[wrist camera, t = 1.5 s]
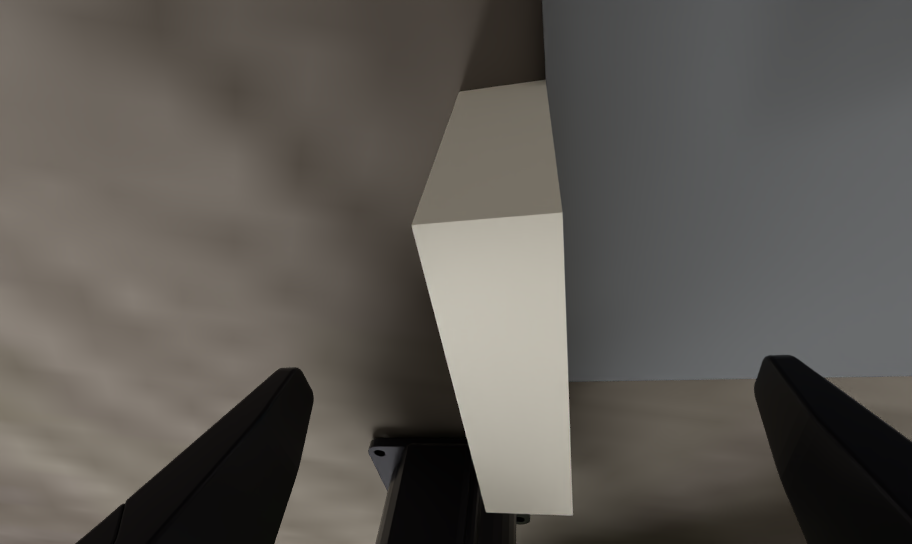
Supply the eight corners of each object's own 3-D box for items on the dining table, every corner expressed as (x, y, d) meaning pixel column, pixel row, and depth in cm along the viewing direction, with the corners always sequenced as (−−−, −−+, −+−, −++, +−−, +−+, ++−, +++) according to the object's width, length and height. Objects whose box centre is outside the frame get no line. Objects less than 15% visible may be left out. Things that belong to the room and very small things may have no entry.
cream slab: (557, 330, 15) (572, 515, 11) (494, 332, 16) (482, 512, 11) (545, 78, 11) (562, 213, 6) (455, 91, 11) (404, 225, 6)
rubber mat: (963, 364, 14) (974, 375, 14) (560, 372, 16) (561, 381, 16) (2098, -1233, 4) (2256, -1347, 3) (513, -581, 6) (512, -609, 6)
